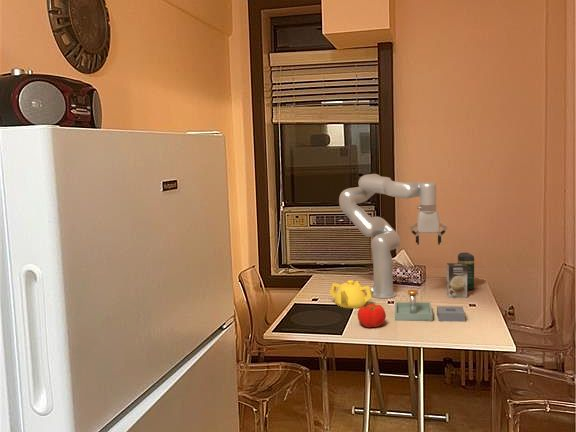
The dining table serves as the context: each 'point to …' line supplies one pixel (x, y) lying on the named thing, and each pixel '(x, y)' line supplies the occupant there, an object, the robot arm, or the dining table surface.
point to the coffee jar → (468, 268)
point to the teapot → (350, 294)
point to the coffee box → (456, 280)
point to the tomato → (371, 315)
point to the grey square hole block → (450, 313)
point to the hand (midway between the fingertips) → (428, 244)
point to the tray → (421, 313)
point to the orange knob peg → (412, 300)
